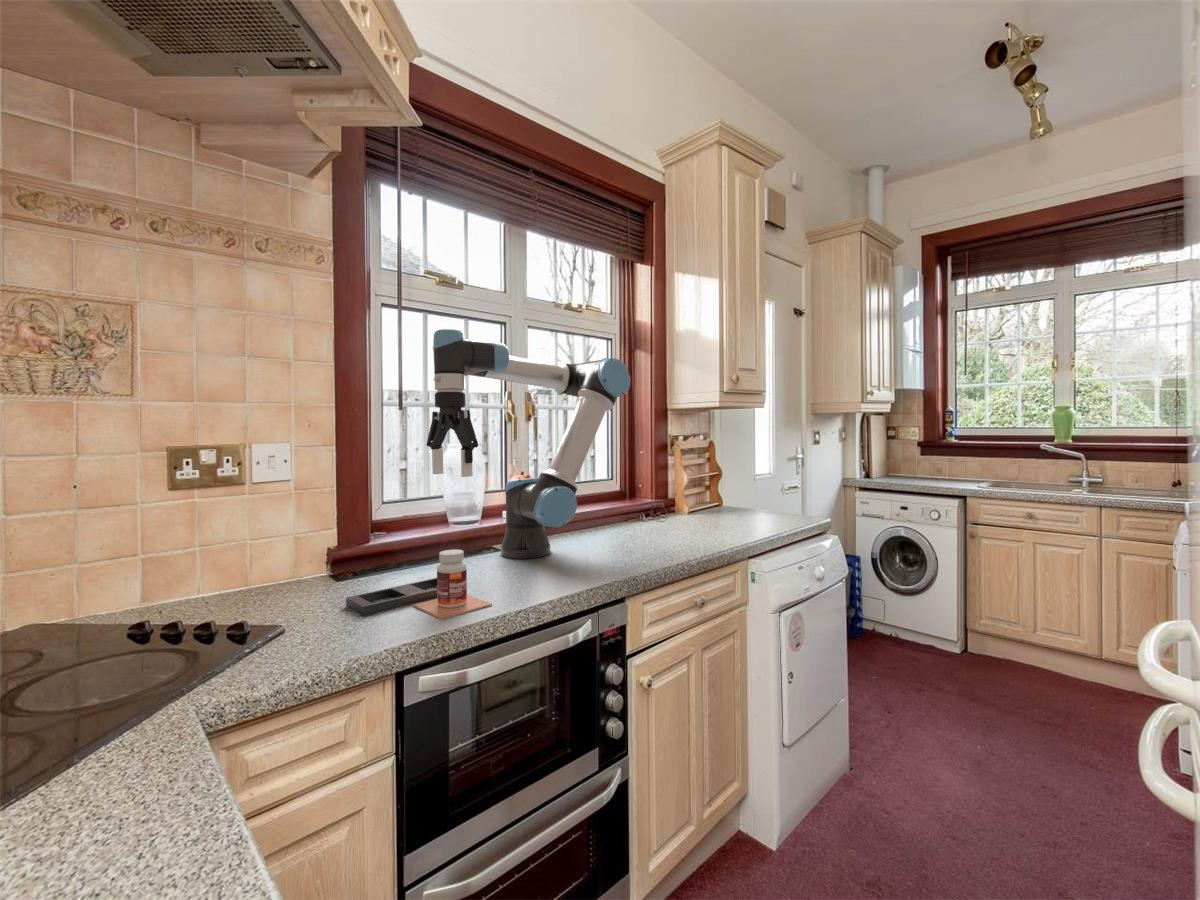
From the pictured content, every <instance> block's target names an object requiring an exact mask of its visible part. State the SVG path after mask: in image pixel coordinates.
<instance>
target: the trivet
mask: <svg viewBox="0 0 1200 900" xmlns="http://www.w3.org/2000/svg"><path fill="white" fill-rule="evenodd" d="M490 605H492V606H493V603H491V602H488V601H487V600H486V601H485V600H483V599H481V598H477V597H475V596H473V595H469V594H467V602H466V603H465V604H464V605H462V606H459V607H454V608H444V607H441V606H439V605H438V601H437V598H436V599H432V600H428V601H424V602H420V603H416V604H412V607H413V608H416V609H417V610H420V611H421V612H424V613H426V614H428V615H431V616H432V617H434V618H436V619H439V620H442V621H443V620H445V619H448V618H449V619H450V618H453V617H456V616H460V615H463V614H467V613H472V612H474V611H478V610H480V609H481V608H482V609H484V608H483V607H485V608H488V607H487V606H489V607H491V606H490Z"/></svg>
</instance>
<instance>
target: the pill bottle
mask: <svg viewBox="0 0 1200 900" xmlns="http://www.w3.org/2000/svg"><path fill="white" fill-rule="evenodd" d="M464 553H465V551H464V550H462V549H447V550H442V551H439V552H438V556H439V557H438V561H439V562H440V563H439V564H438V565H437V566H436V567H437V568H436V578H437V587H436V588H437V598H436V599H437V601H438V605H439V606H441V607H444V608H454V607H459V606H462V605H464V604H465V603H466V602H467V595H468V593H467V592H468V590H467V589H468V585H467V579H468V577H467V576H468V575H467V569H468V568H467V564H466V563H465V562H464V559H465V554H464Z"/></svg>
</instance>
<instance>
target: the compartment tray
mask: <svg viewBox="0 0 1200 900" xmlns="http://www.w3.org/2000/svg"><path fill="white" fill-rule="evenodd" d="M385 599H386V600H385ZM434 599H437V577H433V578H428V579H424V580H420V581H414V582H412V583H411V582H410V583H406V584H401V585H398V586H394V587H393V586H392V587H388V588H384V589H379V590H375V591H370V592H366V593H365V592H364V593H362V594H356V595H351V596H348V597H345V607H346V608H347V609H349V610H351V611H353V612H355V613H357V614H358V615H360V616H362V617H368V616H371V615H372V616H373V615H375V614H379V613H384V612H388V611H391V610H395V609H399V608H403V607H407V606H413V605H414V604H418V603H422V602H426V601H430V600H434ZM373 602H374V603H373Z"/></svg>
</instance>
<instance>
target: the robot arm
mask: <svg viewBox="0 0 1200 900" xmlns="http://www.w3.org/2000/svg"><path fill="white" fill-rule="evenodd" d="M465 338H466V337H465V333H464V332H463V331H462V330H461V329H460V330H459V329H456V328H455V329H454V328H441V329H438V330H436V331H434V333H433V338H432V339H433V344H432V345H433V347H432V350H433V351H432V352H433V369H434V371H433V372H434V373H433V374H434V377H433V381H434V390H435V391H436V392H434V406H435V407H436V408H439V410H438V411H435V410H434V411H432V412H431V413H432V414H431V423H430V427H429V432H428V436H427V440H426V447H430V450H431V459H432V460H431V461H432V463H431V464H432V475H442V474H444V447H443V443H444V441H445V438H446V436H447V434H448V432H449V431H450V430H453V431H454V433H455V435H456V437H457V439H458V441H459V444H460V445H461V448H460V469H461V470H460V471H461V472H460V473H461V474H460V475H461V478H467V477H470V478H471V477H473V475H474V474H473V459H474V458H473V457H474V455H473V451H474V449H475V448H478V447H479V442H478V439H477V435H476V433H475V430H474V426H473V423H472V419H471V411H470V410H469V409H462V408H465V407H466V404H467V403H466V401H467V400H466V393H465V392H464V391H466V377H467V376H473V377H479V378H481V377H482V378H486V379H493V380H497V381H503V382H504V381H505V382H511V383H517V384H523V385H529V386H534V387H541V388H545V389H546V388H547V389H552V390H554V392H555V393H557V394H563V395H568V396H572V397H576V398H579V401H578V403H577V406H576V407H575V410H574V412H573V414H572V417H571V418H570V421H569V423H568V425H567V427H566V430H565V432H564V434H563V436H562V439H561V440H560V442H559V445H558V447H557V449H556V452H555V454H554V455H553V459H552V461H551V462H550V465H549V467H548V469H546V470H544V471H542V472H540V473H539V477H532V478H531V477H530V478H529V477H528V478H520V479H518V478H517V479H511V480H508V481H507V482H506V484H505V491H504V493H505V519H506V521H505V523H506V524H505V527H506V528H505V533H504V536H503V539H502V542H501V546H500V556H502V557H505V558H508V559H520V560H521V559H523V560H525V559H535V558H536V559H537V558H542V557H545V556H548V555H549V554H551V544H550V541H549V537H548V534H547V531H546V528H547V527H548V528H551V527H552V528H560V527H563V526H564V525H567V524H568V523H569V522H570V521H572V519H573V518H574V516H575V515H576V512H577V508H578V501H577V496H576V493H577V491H578V485H577V484H576V480H577V479H578V476H579V474H580V472H581V469H582V467H583V464H584V463H585V460H586V457H587V455H588V453H589V450H590V449H591V447H592V443H593V442H594V439H595V438H596V435H597V432H598V430H599V429H600V425H601V424H602V421H603V419H604V417H605V414H606V412H607V411H609V410H612V409H614V406H615V403H616V402H617V400H618V398H619V397H623V396H624V395H625V394H626V393H628V391H629V390H630V387H631V375H630V374H629V369H628V367H627V365H625V363H624V361H621V360H620V359H617V358H615V357H609V358H608V357H604V358H602V359H599V360H593V361H592V360H591V361H586V362H585V361H584V362H582V363H581V362H580V363H566V362H560V363H558V364H553V363H548V362H544V361H540V360H539V361H537V360H533V359H528V358H522V357H517V356H513V355H510V351H509V348H508V346H507V345H506V344H505V343H502V342H501V343H500V342H496V341H483V340H470V339H465ZM545 527H546V528H545Z"/></svg>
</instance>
